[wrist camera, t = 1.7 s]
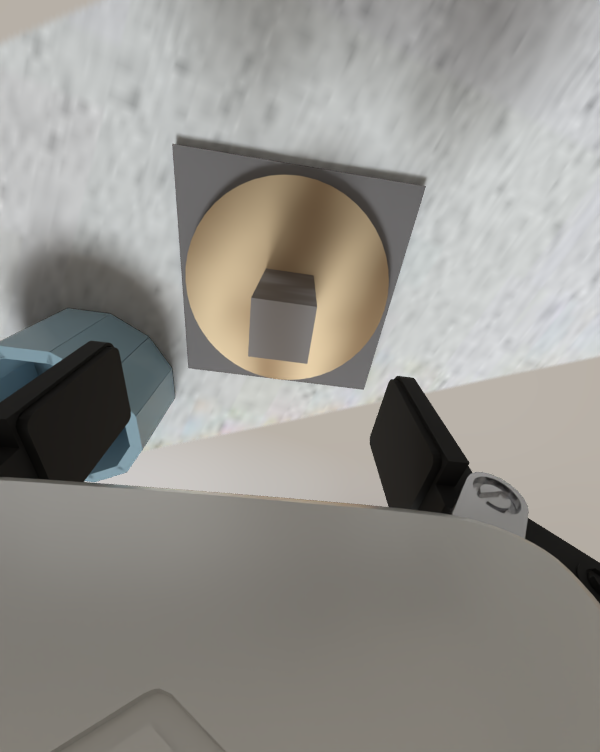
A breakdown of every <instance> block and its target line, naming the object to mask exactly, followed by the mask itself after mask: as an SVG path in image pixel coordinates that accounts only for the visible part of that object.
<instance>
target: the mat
mask: <svg viewBox="0 0 600 752" xmlns="http://www.w3.org/2000/svg"><path fill="white" fill-rule="evenodd" d="M172 146H173V160H174V174H175V188H176V202H177V216H178V229H179V243H180V257H181V271H182V285H183V299H184V313H185V326H186V340H187V354H188V368H192V369H200V370H208V371H216V372H224V373H232V374H241V375H249V376H257V377H264V376H261V375H257V374H254V373H252V372H250V371H247V370H245V369H243V368H241V367H240V366H238V365H236V364H234V363H233V362H232V361H230V360H229V359H227V358H226V357H225V356H224V355H222V354H221V353H220V352H219V351H218V350H217V349H216V348H215V347H214V346H213V345H212V344H211V343H210V341H209V340H208V339H207V337H206V336H205V335H204V333H203V332H202V330H201V329H200V327H199V325H198V323H197V321H196V319H195V317H194V314H193V312H192V309H191V307H190V303H189V299H188V295H187V288H186V261H187V254H188V250H189V247H190V243H191V240H192V237H193V235H194V233H195V231H196V228H197V226H198V225H199V223H200V222H201V220H202V218H203V217H204V215H205V214H206V213H207V211H208V210H209V209H210V208H211V207H212V206H213V205H214V203H215V202H217V201H218V200H219V199H220V198H221V197H223V196H224V195H225V194H226V193H228V192H229V191H231V190H232V189H234V188H236V187H237V186H239V185H241V184H244V183H246V182H248V181H251V180H253V179H257V178H261V177H266V176H271V175H297V176H304V177H308V178H312V179H316V180H318V181H321V182H323V183H326V184H328V185H330V186H332V187H334V188H336V189H337V190H339V191H340V192H342V193H344V194H345V195H346V196H348V197H349V198H350V199H351V200H352V201H354V202H355V203H356V204H357V205H358V206H359V207H360V208H361V210H362V211H363V212H364V213H365V214H366V215H367V217H368V218H369V220H370V221H371V223H372V224H373V226H374V227H375V229H376V231H377V233H378V235H379V237H380V239H381V241H382V244H383V248H384V251H385V254H386V259H387V265H388V275H389V286H388V297H387V301H386V305H385V309H384V312H383V315H382V318H381V320H380V322H379V324H378V326H377V328H376V330H375V332H374V334H373V335H372V336H371V338H370V339H369V341H368V342H367V343H366V344H365V346H364V347H363V348H362V349H361V350H360V351H359V352H358V353H357V354H356V355H355V356H354V357H352V358H351V359H350V360H349V361H347V362H346V363H344V364H343V365H341V366H339V367H338V368H336V369H334V370H332V371H330V372H327V373H325V374H322V375H319V376H315V377H311V378H305V379H297V380H290V381H298V382H306V383H314V384H322V385H330V386H338V387H347V388H355V389H363V390H364V387H365V383H366V380H367V377H368V374H369V370H370V367H371V364H372V361H373V357H374V354H375V351H376V347H377V344H378V341H379V338H380V334H381V331H382V328H383V325H384V321H385V318H386V315H387V311H388V308H389V305H390V302H391V298H392V295H393V292H394V289H395V285H396V282H397V279H398V275H399V272H400V269H401V266H402V262H403V259H404V256H405V253H406V249H407V246H408V243H409V240H410V236H411V233H412V230H413V226H414V223H415V220H416V217H417V213H418V210H419V207H420V204H421V200H422V197H423V194H424V190H425V187H426V186H421V185H415V184H409V183H403V182H397V181H391V180H385V179H379V178H373V177H367V176H361V175H355V174H349V173H344V172H338V171H332V170H326V169H320V168H314V167H308V166H302V165H296V164H290V163H284V162H278V161H272V160H266V159H260V158H254V157H248V156H242V155H236V154H230V153H224V152H218V151H212V150H206V149H200V148H194V147H188V146H183V145H177V144H172ZM265 378H268V377H265ZM273 379H274V378H273ZM281 380H283V379H281Z"/></svg>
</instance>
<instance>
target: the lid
mask: <svg viewBox="0 0 600 752" xmlns="http://www.w3.org/2000/svg"><path fill="white" fill-rule="evenodd" d="M388 286H389V275H388V265H387V259H386V254H385V251H384V248H383V244H382V241H381V239H380V237H379V235H378V233H377V231H376V229H375V227H374V226H373V224H372V223H371V221H370V220H369V218H368V217H367V215H366V214H365V213H364V212H363V211H362V210H361V208H360V207H359V206H358V205H357V204H356V203H355V202H354V201H352V200H351V199H350V198H349V197H348V196H346V195H345V194H344V193H342V192H340V191H339V190H337V189H336V188H334V187H332V186H330V185H328V184H326V183H323V182H321V181H318V180H316V179H312V178H308V177H304V176H297V175H271V176H266V177H261V178H257V179H253V180H251V181H248V182H246V183H244V184H241V185H239V186H237V187H236V188H234V189H232V190H231V191H229V192H228V193H226V194H225V195H224V196H223V197H221V198H220V199H219V200H218V201H217V202H215V203H214V205H213V206H212V207H211V208H210V209H209V210H208V211H207V213H206V214H205V215H204V217H203V218H202V220H201V222H200V223H199V225H198V226H197V228H196V231H195V233H194V235H193V237H192V240H191V243H190V247H189V250H188V254H187V261H186V288H187V295H188V299H189V303H190V307H191V309H192V312H193V314H194V317H195V319H196V321H197V323H198V325H199V327H200V329H201V330H202V332H203V333H204V335H205V336H206V337H207V339H208V340H209V341H210V343H211V344H212V345H213V346H214V347H215V348H216V349H217V350H218V351H219V352H220V353H221V354H222V355H224V356H225V357H226V358H227V359H229V360H230V361H232V362H233V363H234V364H236V365H238V366H240V367H241V368H243V369H245V370H247V371H250V372H252V373H254V374H257V375H261V376H264V377H268V378H274V379H283V380H297V379H305V378H311V377H315V376H319V375H322V374H325V373H327V372H330V371H332V370H334V369H336V368H338V367H339V366H341V365H343V364H344V363H346V362H347V361H349V360H350V359H351V358H352V357H354V356H355V355H356V354H357V353H358V352H359V351H360V350H361V349H362V348H363V347H364V346H365V344H366V343H367V342H368V341H369V339H370V338H371V336H372V335H373V334H374V332H375V330H376V328H377V326H378V324H379V322H380V320H381V318H382V315H383V312H384V309H385V305H386V301H387V297H388Z"/></svg>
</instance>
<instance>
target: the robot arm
mask: <svg viewBox="0 0 600 752" xmlns="http://www.w3.org/2000/svg"><path fill="white" fill-rule="evenodd" d="M130 417H131V409H130V404H129V399H128V394H127V389H126V383H125V378H124V373H123V368H122V363H121V358H120V353H119V350H118V349H117V348H115V347H114V346H113V344H111V343H109V342H100V341H89V342H87V343H86V344H84V345H83V346H81V347H80V348H78V349H77V350H76V351H74V352H73V353H71V354H70V355H68V356H67V357H65V358H64V359H62V360H61V361H60V362H58V363H57V364H55V365H54V366H52V367H51V368H49V369H48V370H46V371H45V372H44V373H42V374H41V375H39V376H38V377H36V378H35V379H33V380H32V381H30V382H29V383H28V384H26V385H25V386H23V387H22V388H20V389H19V390H17V391H16V392H14V393H13V394H12V395H10V396H9V397H7V398H6V399H4V400H3V401H1V402H0V752H600V563H599V562H598V561H596V560H594V559H593V558H591V557H590V556H588V555H586V554H585V553H583V552H581V551H580V550H578V549H577V548H575V547H574V546H572V545H570V544H569V543H567V542H566V541H564V540H562V539H561V538H559V537H557V536H556V535H554V534H553V533H551V532H550V531H548V530H546V529H545V528H543V527H542V526H540V525H538V524H537V523H535V522H534V521H532V520H530V519H529V518H528V506H527V504H526V502H525V500H524V498H523V497H522V496H521V494H520V493H519V492H518V491H517V490H516V489H515V488H514V487H512V486H511V485H510V484H509V483H507V482H505V481H504V480H502V479H501V478H498V477H496V476H494V475H491V474H488V473H483V472H475V473H472V471H471V470H470V468H469V466H468V465H469V461H468V460H467V458H466V457H465V455H464V454H463V453H462V451H461V449H460V448H459V446H458V445H457V443H456V441H455V440H454V438H453V437H452V435H451V434H450V432H449V431H448V429H447V428H446V426H445V425H444V423H443V422H442V420H441V419H440V417H439V416H438V414H437V413H436V411H435V409H434V408H433V406H432V405H431V403H430V402H429V400H428V399H427V397H426V396H425V394H424V393H423V391H422V390H421V388H420V386H419V385H418V383H417V382H416V380H415V379H414V378H410V377H402V376H397V377H395V379H394V380H393V379H391V380H390V381H389V383H388V386H387V389H386V392H385V395H384V398H383V401H382V404H381V406H380V409H379V413H378V415H377V418H376V421H375V424H374V427H373V430H372V433H371V436H370V446H371V449H372V453H373V456H374V460H375V463H376V466H377V469H378V473H379V476H380V479H381V483H382V486H383V490H384V493H385V496H386V500H387V503H388V506H389V507H382V506H372V505H371V506H370V505H361V504H350V503H338V502H327V501H314V500H303V499H291V498H279V497H268V496H254V495H243V494H230V493H218V492H206V491H193V490H180V489H167V488H154V487H140V486H128V485H114V484H100V483H87V482H84V481H85V479H86V478H87V477H88V475H89V474H90V473H91V471H92V470H93V469H94V467H95V466H96V465H97V463H98V462H99V461H100V459H101V458H102V457H103V455H104V454H105V453H106V451H107V450H108V449H109V447H110V446H111V445H112V444H113V442H114V441H115V440H116V438H117V437H118V436H119V434H120V433H121V432H122V430H123V429H124V428H125V426H126V425H127V424H128V422H129V420H130Z"/></svg>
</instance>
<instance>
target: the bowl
mask: <svg viewBox="0 0 600 752" xmlns="http://www.w3.org/2000/svg"><path fill="white" fill-rule="evenodd" d="M89 341H100V342H109V343H111V344H113V346H114V347H115V348H117V349H118V350H119V353H120V358H121V363H122V368H123V373H124V378H125V383H126V389H127V394H128V399H129V404H130V409H131V417H130V420H129V422H128V424H127V425H126V426H125V428H124V429H123V430H122V432H121V433H120V434H119V436H118V437H117V438H116V440H115V441H114V442H113V444H112V445H111V446H110V447H109V449H108V450H107V451H106V453H105V454H104V455H103V457H102V458H101V459H100V461H99V462H98V463H97V465H96V466H95V467H94V469H93V470H92V471H91V473H90V474H89V475H88V477H87V478H86V479H85V481H89V482H97V481H100V480H104V479H107V478H110V477H113V476H117V475H120V474H123V473H126V472H127V471H128V470H129V468H130V467H131V466H132V464H133V463H134V461H135V459H136V458H137V457H138V455H139V454H140V453H141V451H142V450H143V448H144V446H145V445H146V443H147V442H148V440H149V439H150V437H151V435H152V434H153V432H154V431H155V429H156V427H157V426H158V424H159V423H160V421H161V419H162V418H163V416H164V415H165V413H166V411H167V410H168V408H169V407H170V405H171V403H172V402H173V400H174V399H175V391H174V382H173V373H172V367H171V366H170V365H169V363H168V362H167V361H166V359H165V358H164V357H163V355H162V354H161V352H160V351H159V350H158V348H157V347H156V346H155V344H154V343H153V342H152V340H151V339H150V337H148V336H147V335H145V334H143V333H142V332H140V331H138V330H137V329H135V328H133V327H132V326H130V325H128V324H127V323H125V322H123V321H122V320H120V319H118V318H117V317H115V316H113V315H112V314H109V313H101V312H93V311H86V310H78V309H71V308H67V309H65V310H63V311H61V312H59V313H57V314H54V315H52V316H50V317H48V318H46V319H44V320H42V321H40V322H38V323H36V324H34V325H32V326H30V327H27V328H25V329H23V330H21V331H19V332H17V333H15V334H13V335H11V336H9V337H7V338H5V339H3V340H1V341H0V402H1V401H3V400H4V399H6V398H7V397H9V396H10V395H12V394H13V393H14V392H16V391H17V390H19V389H20V388H22V387H23V386H25V385H26V384H28V383H29V382H30V381H32V380H33V379H35V378H36V377H38V376H39V375H41V374H42V373H44V372H45V371H46V370H48V369H49V368H51V367H52V366H54V365H55V364H57V363H58V362H60V361H61V360H62V359H64V358H65V357H67V356H68V355H70V354H71V353H73V352H74V351H76V350H77V349H78V348H80V347H81V346H83V345H84V344H86V343H87V342H89Z"/></svg>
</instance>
